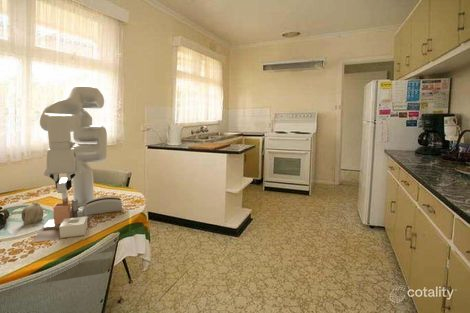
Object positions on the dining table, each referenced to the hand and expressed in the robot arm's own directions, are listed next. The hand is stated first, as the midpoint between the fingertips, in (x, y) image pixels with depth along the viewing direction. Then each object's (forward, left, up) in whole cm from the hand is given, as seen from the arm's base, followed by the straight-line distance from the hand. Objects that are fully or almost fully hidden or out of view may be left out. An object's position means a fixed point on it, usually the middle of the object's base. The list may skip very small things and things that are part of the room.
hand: (64, 189), depth 112 cm
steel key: (-1, 0, -6) cm, 6 cm away
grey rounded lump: (-8, -14, -17) cm, 23 cm away
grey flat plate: (+5, 0, -17) cm, 17 cm away
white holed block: (+10, +5, -15) cm, 19 cm away
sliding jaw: (0, -1, -14) cm, 14 cm away
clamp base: (0, +1, -15) cm, 15 cm away
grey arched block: (-11, +13, -17) cm, 24 cm away
